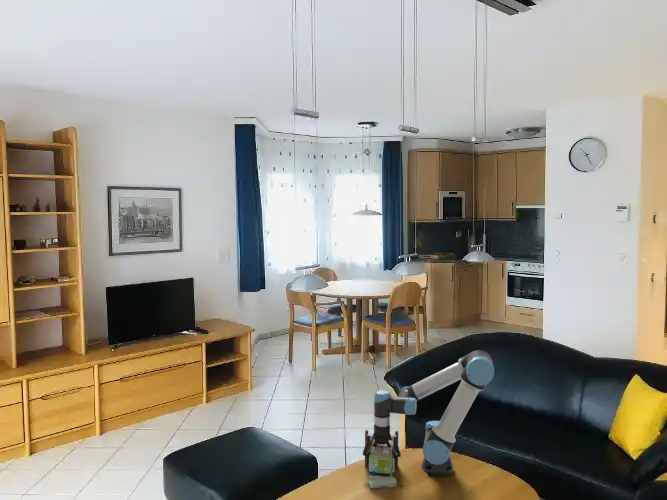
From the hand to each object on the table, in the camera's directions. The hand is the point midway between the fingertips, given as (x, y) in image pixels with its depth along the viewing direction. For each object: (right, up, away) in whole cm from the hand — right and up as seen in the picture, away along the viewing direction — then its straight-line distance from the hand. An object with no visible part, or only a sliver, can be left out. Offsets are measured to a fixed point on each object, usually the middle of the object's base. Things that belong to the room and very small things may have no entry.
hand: (381, 470), depth 260 cm
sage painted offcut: (0, -2, -11) cm, 11 cm away
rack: (+1, -2, +10) cm, 10 cm away
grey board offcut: (0, -3, -10) cm, 11 cm away
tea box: (0, -3, 0) cm, 3 cm away
